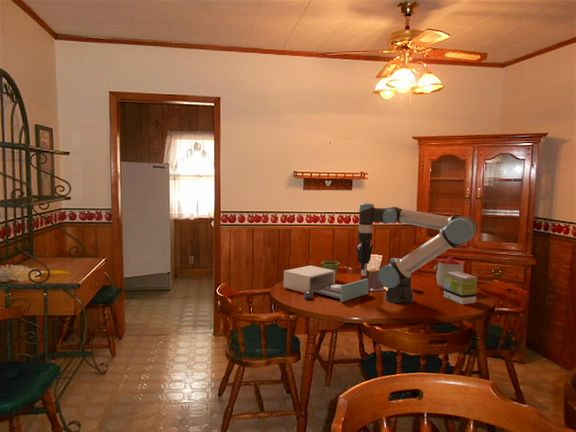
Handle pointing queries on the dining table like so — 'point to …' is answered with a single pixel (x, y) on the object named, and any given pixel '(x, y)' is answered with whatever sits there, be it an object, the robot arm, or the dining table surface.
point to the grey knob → (308, 295)
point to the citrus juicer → (447, 269)
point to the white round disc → (336, 287)
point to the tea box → (460, 287)
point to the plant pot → (331, 266)
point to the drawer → (344, 290)
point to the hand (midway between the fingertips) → (363, 275)
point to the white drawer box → (308, 278)
